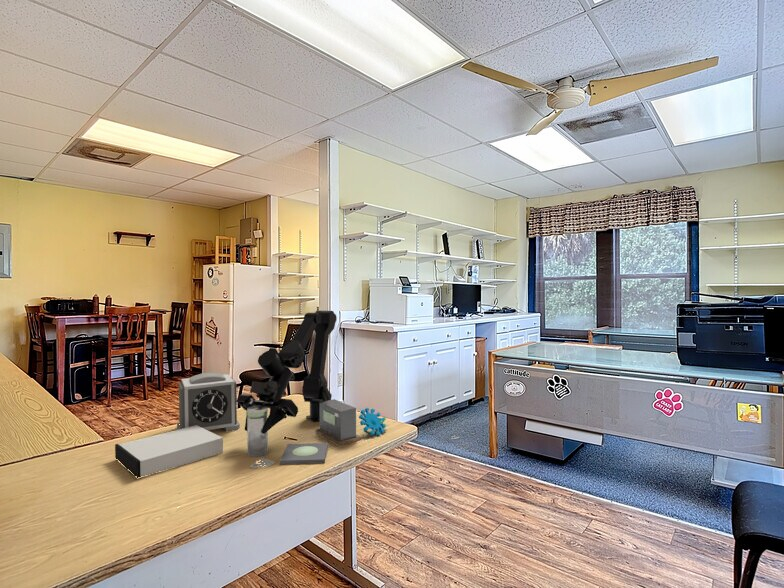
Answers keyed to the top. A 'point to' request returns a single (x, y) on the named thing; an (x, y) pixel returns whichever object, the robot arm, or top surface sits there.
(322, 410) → the control unit
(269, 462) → the mounting bracket
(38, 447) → the top surface
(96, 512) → the top surface
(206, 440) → the disc drive
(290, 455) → the pad
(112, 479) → the top surface
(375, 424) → the gear
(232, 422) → the alarm clock
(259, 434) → the canister
